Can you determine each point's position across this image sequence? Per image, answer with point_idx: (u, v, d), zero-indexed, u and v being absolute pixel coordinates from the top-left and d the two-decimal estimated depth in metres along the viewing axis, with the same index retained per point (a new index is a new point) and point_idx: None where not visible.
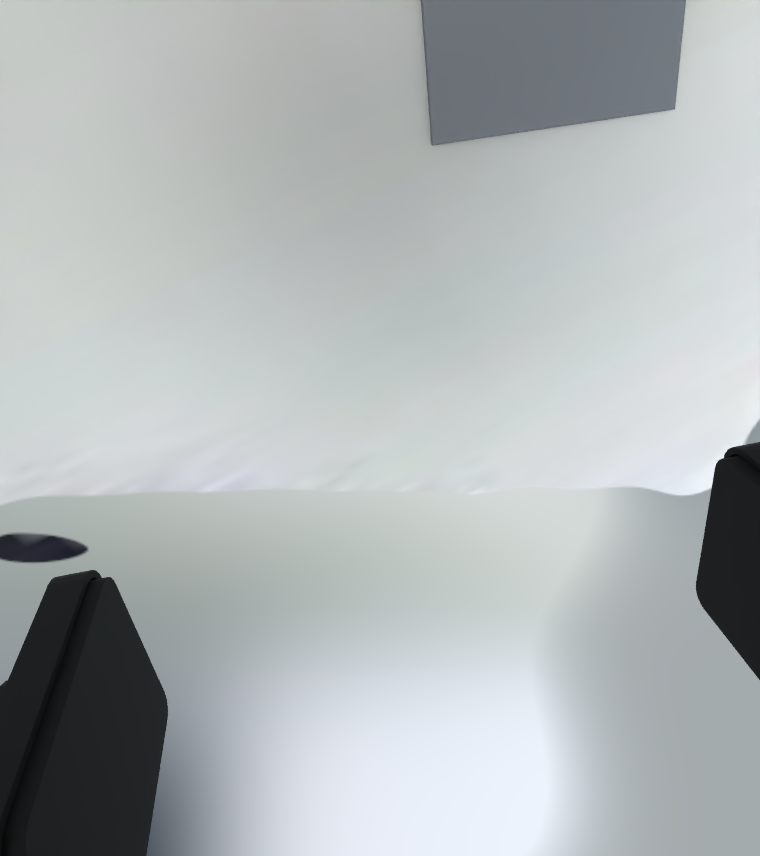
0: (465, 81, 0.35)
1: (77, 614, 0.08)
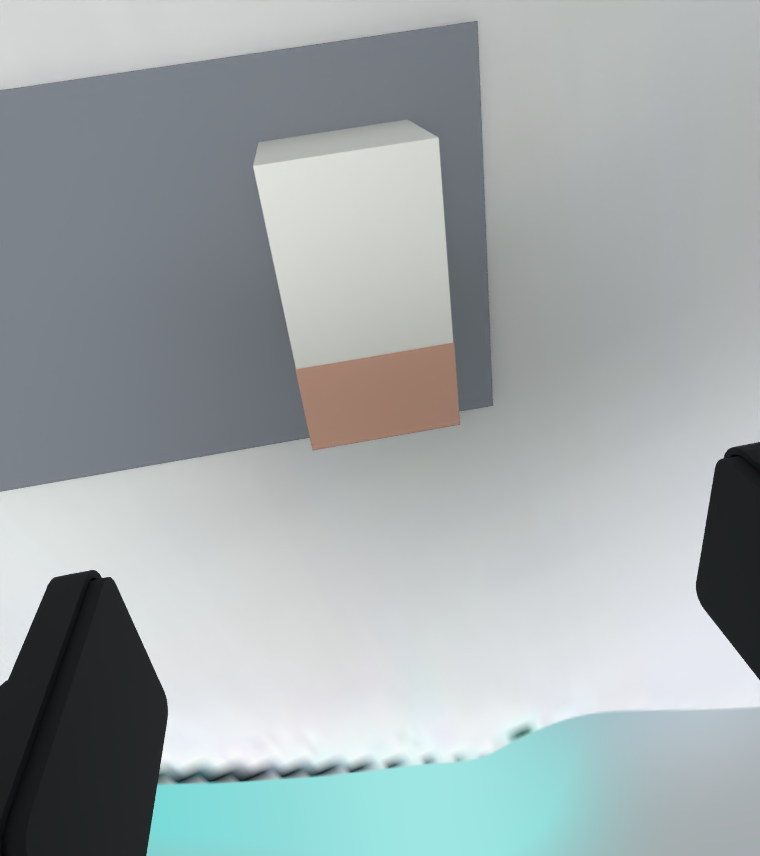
0: None
1: (77, 614, 0.08)
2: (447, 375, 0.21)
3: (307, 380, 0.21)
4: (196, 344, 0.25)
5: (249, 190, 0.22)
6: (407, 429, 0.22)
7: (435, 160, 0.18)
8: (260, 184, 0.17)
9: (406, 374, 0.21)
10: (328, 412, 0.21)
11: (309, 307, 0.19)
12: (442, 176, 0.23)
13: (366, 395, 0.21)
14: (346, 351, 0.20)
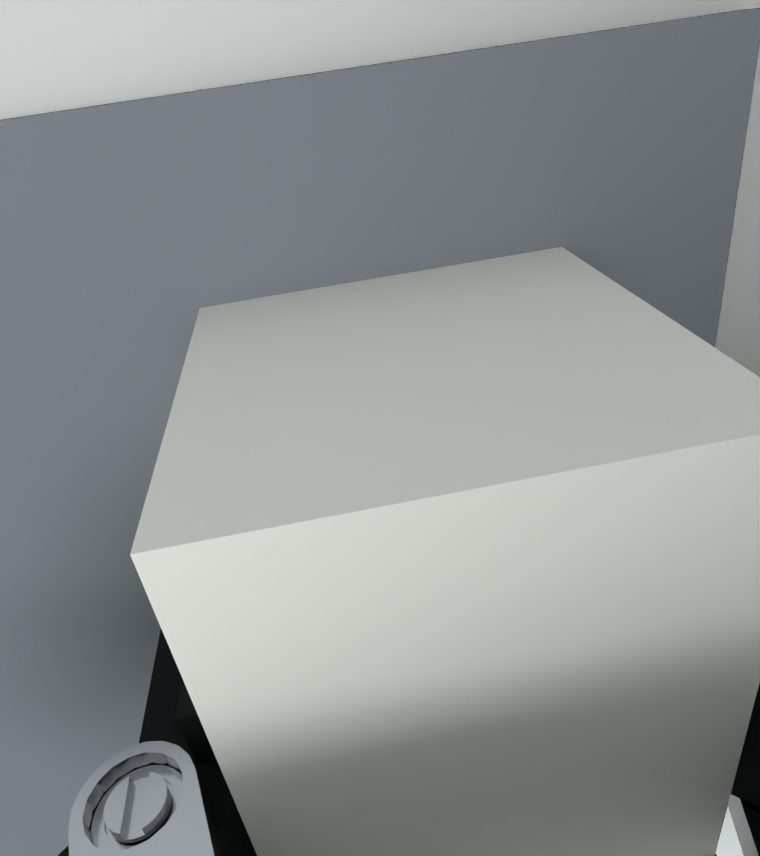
0: None
1: None
2: None
3: None
4: (84, 688, 0.12)
5: None
6: None
7: None
8: (165, 601, 0.05)
9: None
10: None
11: (338, 848, 0.07)
12: None
13: None
14: None
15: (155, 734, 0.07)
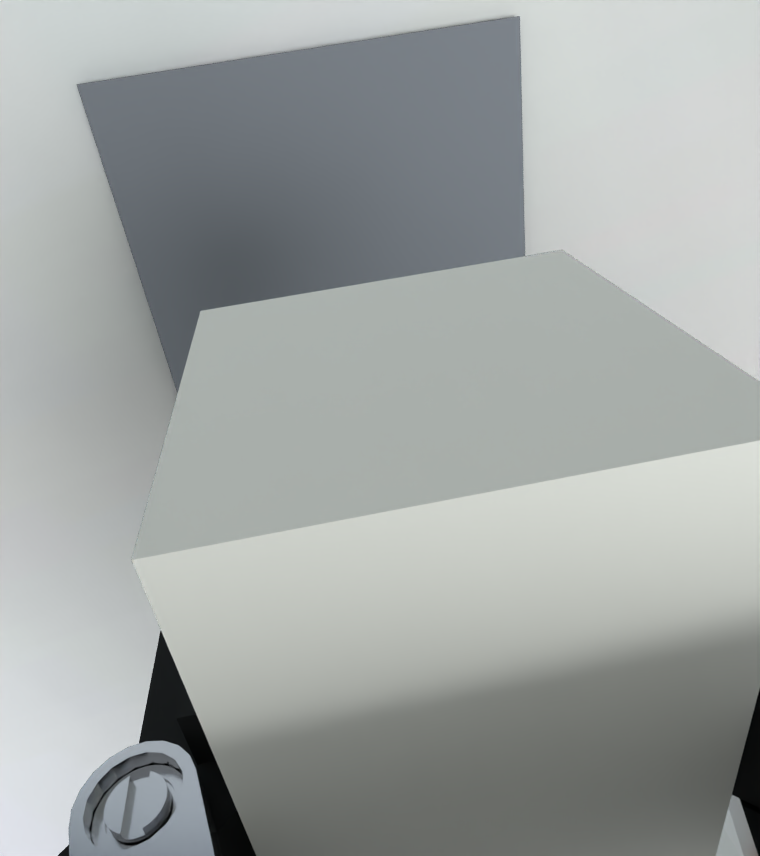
0: (465, 125, 0.22)
1: None
2: None
3: None
4: None
5: None
6: None
7: None
8: (166, 607, 0.05)
9: None
10: None
11: (339, 852, 0.07)
12: None
13: None
14: None
15: (155, 734, 0.07)
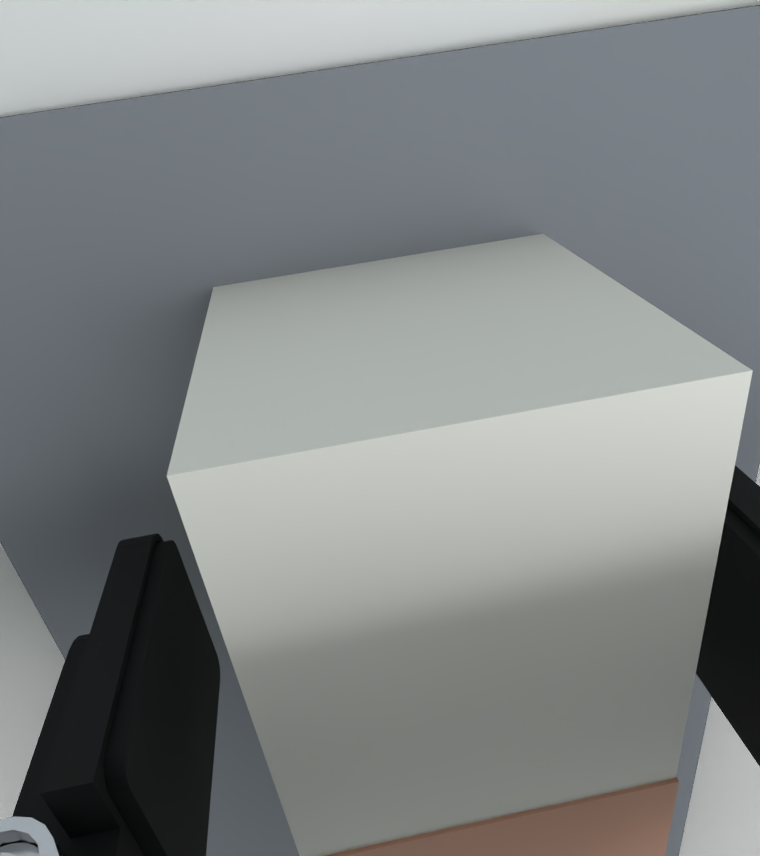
0: (692, 231, 0.10)
1: (148, 572, 0.09)
2: (650, 830, 0.09)
3: None
4: None
5: None
6: None
7: (728, 428, 0.06)
8: (194, 519, 0.06)
9: (559, 836, 0.09)
10: None
11: (338, 759, 0.07)
12: None
13: None
14: (425, 818, 0.08)
15: (33, 801, 0.07)
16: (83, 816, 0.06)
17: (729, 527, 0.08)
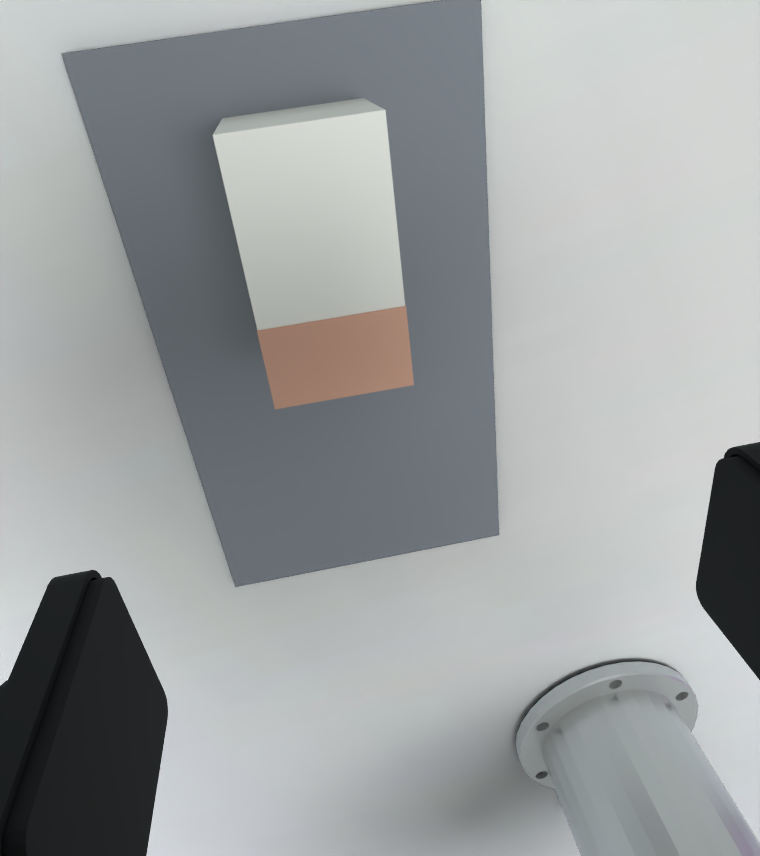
0: (430, 99, 0.23)
1: (77, 614, 0.08)
2: (400, 337, 0.22)
3: (268, 341, 0.22)
4: None
5: (411, 416, 0.30)
6: (364, 389, 0.23)
7: (383, 131, 0.19)
8: (220, 152, 0.19)
9: (362, 336, 0.22)
10: (289, 372, 0.23)
11: (269, 271, 0.21)
12: (413, 530, 0.33)
13: (325, 356, 0.22)
14: (304, 313, 0.22)
15: None
16: None
17: None
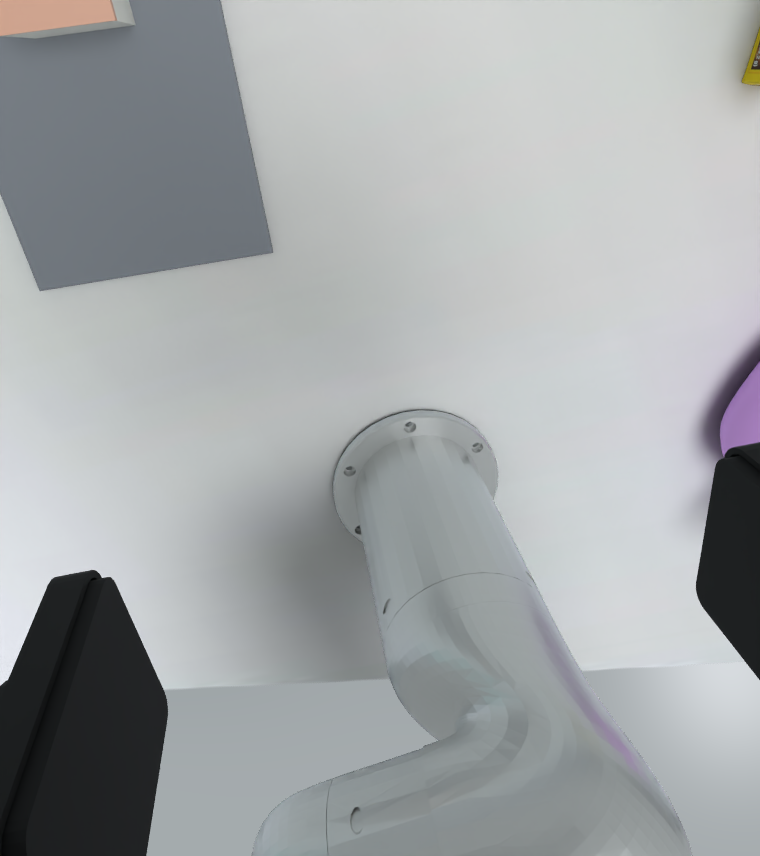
0: None
1: (77, 614, 0.08)
2: None
3: None
4: (50, 63, 0.33)
5: (169, 116, 0.35)
6: (73, 21, 0.29)
7: None
8: None
9: None
10: None
11: None
12: (193, 240, 0.39)
13: None
14: None
15: None
16: None
17: None
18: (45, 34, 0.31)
